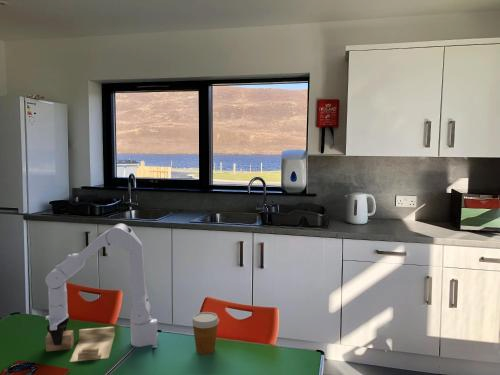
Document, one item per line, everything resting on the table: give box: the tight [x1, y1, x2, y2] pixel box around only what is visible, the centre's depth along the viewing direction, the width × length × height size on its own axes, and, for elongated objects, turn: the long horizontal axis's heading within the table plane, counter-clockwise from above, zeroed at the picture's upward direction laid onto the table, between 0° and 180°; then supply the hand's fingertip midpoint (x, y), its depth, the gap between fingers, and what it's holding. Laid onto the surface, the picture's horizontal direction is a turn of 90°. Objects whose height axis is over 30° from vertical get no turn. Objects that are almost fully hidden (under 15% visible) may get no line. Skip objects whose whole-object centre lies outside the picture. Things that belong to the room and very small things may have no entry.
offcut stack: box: [78, 346, 101, 361], centre depth 131 cm, size 7×2×3 cm, turn 102°
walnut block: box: [45, 329, 75, 352], centre depth 138 cm, size 8×4×5 cm, turn 102°
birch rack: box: [69, 326, 115, 363], centre depth 138 cm, size 12×16×4 cm
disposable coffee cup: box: [191, 311, 220, 355], centre depth 138 cm, size 10×10×12 cm
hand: (59, 341), depth 138 cm, fingers closed on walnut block, 4 cm apart
